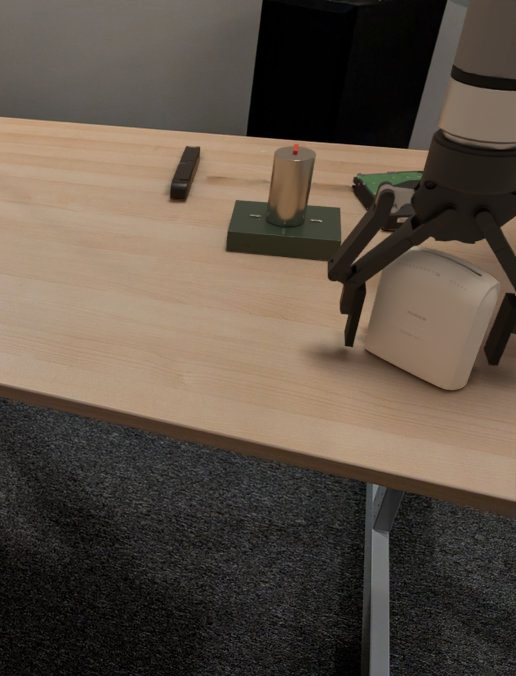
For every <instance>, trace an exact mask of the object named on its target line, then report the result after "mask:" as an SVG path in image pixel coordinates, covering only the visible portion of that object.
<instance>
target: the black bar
mask: <svg viewBox="0 0 516 676" xmlns="http://www.w3.org/2000/svg"><path fill="white" fill-rule="evenodd" d="M200 160H201V146H197V145H186V146H185V148H184V150H183V153H182V154H181V157H180V160H179V163H178V165H177V167H176V170H175V172H174V175H173V177H172V179H171V182H170V188H169V199H170V200H180V201H187V199H188V196H189V194H190V191H191V187H192V185H193V181H194V179H195V176H196V172H197V169H198V167H199V164H200Z"/></svg>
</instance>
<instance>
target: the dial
mask: <svg viewBox="0 0 516 676" xmlns="http://www.w3.org/2000/svg"><path fill="white" fill-rule="evenodd" d="M316 157H317V153H316V151H315V150H313V149H311V148H308V147H304V146H300V144H299V143H294V144H293V146H292V145H291V146H290V145H288V146H282V147H279V148H277V149H275V151H274V152H273V160H272V168H271V175H270V176H271V177H270V182H269V189H268V190H269V191H268V199H267V202H268V205H267V213H266V219H267V221H268V222H270V223H272V224H274V225H277V226H283V227H293V226H298V225H301V224H302V223H304V221H305V217H306V211H307V205H308V204H309V199H310V194H311V193H310V192H311V188H312V180H313V175H314V170H315V163H316Z"/></svg>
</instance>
